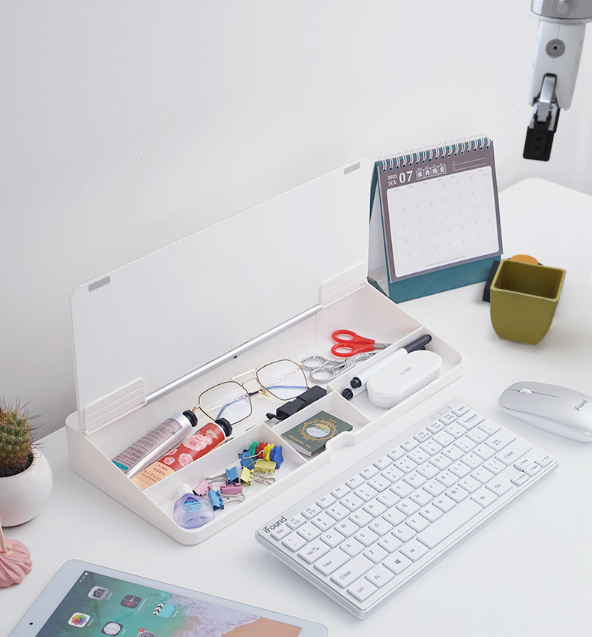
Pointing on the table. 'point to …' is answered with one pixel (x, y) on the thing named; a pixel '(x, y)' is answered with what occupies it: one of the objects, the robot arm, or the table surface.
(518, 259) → the switch button
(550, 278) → the flower pot
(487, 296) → the switch
